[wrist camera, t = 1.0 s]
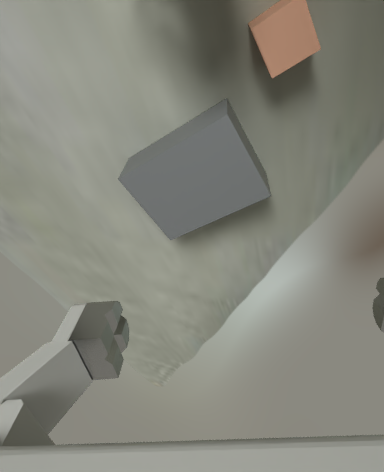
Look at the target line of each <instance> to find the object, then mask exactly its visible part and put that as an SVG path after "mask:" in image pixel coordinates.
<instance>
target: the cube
mask: <svg viewBox="0 0 384 472" xmlns="http://www.w3.org/2000/svg"><path fill="white" fill-rule="evenodd" d="M248 25H249V27H250V29H251V32H252V34H253V37H254V39H255V41H256V44H257V46H258V48H259V51H260V53H261V55H262V58H263V60H264V62H265V65H266V67H267V69H268V71H269V73H270V75H271V77H272V78H274V77H276V76H277V75H279V74H281V73H282V72H284V71H286V70H287V69H289V68H291V67H292V66H294V65H295V64H297V63H299V62H300V61H302V60H304V59H305V58H307V57H309V56H310V55H312V54H314V53H315V52H317V51H319V50H320V49H321V47H320V44H319V41H318V38H317V35H316V31H315V28H314V25H313V22H312V19H311V16H310V12H309V9H308V6H307V3H306V0H280V1H279V2H278V3H276V4H275V5H273V6H272V7H270V8H269V9H268V10H266V11H265V12H263V13H262V14H261V15H259V16H258V17H256V18H255V19H254V20H252V21H251V22H249V23H248Z"/></svg>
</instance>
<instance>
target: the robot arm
mask: <svg viewBox="0 0 384 472" xmlns="http://www.w3.org/2000/svg"><path fill="white" fill-rule="evenodd" d="M376 289H377V290H378V292H379V293H380V294H379V295H378V296H377V297H376V298H375V299H374V302H373V314H374V318H375V321H376V323H377V325H378V327H379V328H380V330H381V331H383V332H384V278H380V279H379V281H378V283H377V287H376ZM122 310H123V309H122V307H121V304H120V302H118V301H107V302H91V303H80V304H74V305H72V306H71V307H70V309H69V311H68V313H67V315H66V317H65V318H64V320H63V322H62V324H61V326H60V327H59V329H58V331H57V333H56V335H55V336H54V338H53V340H52V342H51V343H46V344H45V345H43V346H42V347H41V348H39V349H38V350H37V351H36V352H34V353H33V354H32V355H30V356H29V357H28V358H26V359H25V360H24V361H22V362H21V363H20V364H19V365H17V366H16V367H15V368H13V369H12V370H11V371H10V372H8V373H7V374H6V375H4V376H3V377H2V378H0V472H384V435H357V436H356V435H355V436H323V437H293V438H291V437H290V438H263V439H262V438H259V439H227V440H196V441H165V442H133V443H132V442H131V443H100V444H68V445H67V444H66V445H55V444H54V442H53V441H52V440H51V439H50V438H49V436H48V434H49V433H50V431H51V430H52V429H53V428H54V427H55V426H56V424H57V423H58V422H59V421H60V420H61V418H62V417H63V416H64V415H65V414H66V413H67V411H68V410H69V409H70V408H71V407H72V405H73V404H74V403H75V402H76V401H77V400H78V398H79V397H80V396H81V395H82V394H83V392H84V391H85V390H86V389H87V388H88V387H89V385H90V384H91V383H92V380H99V379H111V378H118V377H119V374H120V370H121V367H122V363H123V360H124V359H123V357H122V354H121V353H122V352H123V351H124V350H125V349H126V348H127V345H128V341H129V327H128V323H127V320H126V319H125V318H124V317H123V316H121V313H122Z"/></svg>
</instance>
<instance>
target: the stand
mask: <svg viewBox="0 0 384 472" xmlns="http://www.w3.org/2000/svg"><path fill="white" fill-rule="evenodd" d="M118 180H119V181H120V182H121V183H122V184H123V186H124V187H125V188H126V189H127V190H128V191H129V193H130V194H131V195H132V196H133V197H134V198H135V200H136V201H137V202H138V203H139V204H140V205H141V207H142V208H143V209H144V210H145V211H146V212H147V213H148V215H149V216H150V217H151V218H152V219H153V220H154V222H155V223H156V224H157V225H158V226H159V227H160V229H161V230H162V231H163V232H164V233H165V234H166V236H167V237H168V238H169V239H170V240H173V239H175V238H177V237H179V236H182V235H184V234H186V233H188V232H191V231H193V230H195V229H197V228H200V227H202V226H204V225H206V224H209V223H211V222H213V221H216V220H218V219H220V218H222V217H225V216H227V215H229V214H231V213H234V212H236V211H238V210H240V209H243V208H245V207H247V206H249V205H252V204H254V203H256V202H259V201H261V200H263V199H265V198H268V197H270V196H271V193H270V188H269V184H268V179H267V175H266V172H265V170H264V168H263V166H262V164H261V162H260V161H259V159H258V157H257V155H256V153H255V151H254V149H253V147H252V145H251V143H250V141H249V140H248V138H247V136H246V134H245V132H244V130H243V128H242V126H241V124H240V122H239V120H238V119H237V117H236V115H235V113H234V111H233V109H232V107H231V105H230V103H229V101H228V99H227V98H226V99H224V100H223V101H221V102H220V103H218V104H216V105H215V106H213V107H211V108H210V109H208V110H207V111H205V112H203V113H202V114H200V115H198V116H197V117H195V118H194V119H192V120H190V121H189V122H187V123H185V124H184V125H182V126H181V127H179V128H177V129H176V130H174V131H172V132H171V133H169V134H168V135H166V136H164V137H163V138H161V139H160V140H158V141H156V142H155V143H153V144H151V145H150V146H148V147H147V148H145V149H143V150H142V151H140V152H138V153H137V154H135V155H134V156H132V157H130V158H129V159H128V161H127V163H126V165H125V167H124V169H123V171H122V172H121V174H120V176H119V178H118Z"/></svg>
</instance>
